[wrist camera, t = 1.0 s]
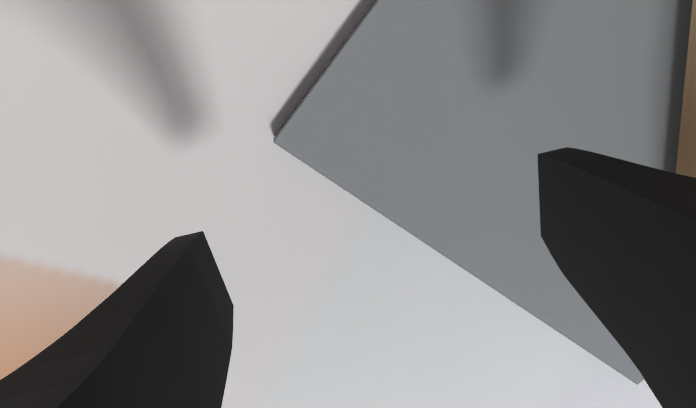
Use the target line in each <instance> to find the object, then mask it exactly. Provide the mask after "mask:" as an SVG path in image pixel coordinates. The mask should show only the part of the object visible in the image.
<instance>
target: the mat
mask: <svg viewBox="0 0 696 408" xmlns="http://www.w3.org/2000/svg"><path fill="white" fill-rule="evenodd" d="M692 3H693V0H376V1H375V2H374V4H373V5H372V6H371V8H370V9H369V11H368V12H367V13H366V15H365V16H364V17H363V19H362V20H361V21H360V23H359V24H358V25H357V27H356V28H355V29H354V31H353V32H352V33H351V35H350V36H349V38H348V39H347V40H346V42H345V43H344V44H343V46H342V47H341V48H340V50H339V51H338V52H337V54H336V55H335V56H334V58H333V59H332V60H331V62H330V63H329V65H328V66H327V67H326V69H325V70H324V71H323V73H322V74H321V75H320V77H319V78H318V79H317V81H316V82H315V83H314V85H313V86H312V87H311V89H310V90H309V92H308V93H307V94H306V96H305V97H304V98H303V100H302V101H301V102H300V104H299V105H298V106H297V108H296V109H295V110H294V112H293V113H292V114H291V116H290V117H289V119H288V120H287V121H286V123H285V124H284V125H283V127H282V128H281V129H280V131H279V132H278V133H277V135H276V136H275V137H274V143H275V144H277V145H278V146H280V147H281V148H283V149H284V150H286V151H287V152H289V153H290V154H292V155H293V156H295V157H296V158H298V159H299V160H301V161H302V162H304V163H305V164H307V165H308V166H310V167H311V168H313V169H314V170H316V171H317V172H319V173H320V174H322V175H323V176H325V177H326V178H328V179H329V180H331V181H332V182H334V183H335V184H337V185H338V186H340V187H341V188H343V189H344V190H346V191H347V192H349V193H350V194H352V195H353V196H355V197H356V198H358V199H359V200H361V201H362V202H364V203H365V204H367V205H368V206H370V207H371V208H373V209H374V210H376V211H377V212H379V213H380V214H382V215H383V216H385V217H386V218H388V219H389V220H391V221H392V222H394V223H395V224H397V225H398V226H400V227H401V228H403V229H405V230H406V231H408V232H409V233H411V234H412V235H414V236H415V237H417V238H418V239H420V240H421V241H423V242H424V243H426V244H427V245H429V246H430V247H432V248H433V249H435V250H436V251H438V252H439V253H441V254H442V255H444V256H445V257H447V258H448V259H450V260H451V261H453V262H454V263H456V264H457V265H459V266H460V267H462V268H463V269H465V270H466V271H468V272H469V273H471V274H472V275H474V276H475V277H477V278H478V279H480V280H481V281H483V282H484V283H486V284H487V285H489V286H490V287H492V288H493V289H495V290H496V291H498V292H499V293H501V294H502V295H504V296H505V297H507V298H508V299H510V300H511V301H513V302H514V303H516V304H517V305H519V306H520V307H522V308H523V309H525V310H526V311H528V312H529V313H531V314H532V315H534V316H535V317H537V318H538V319H540V320H541V321H543V322H544V323H546V324H547V325H549V326H550V327H552V328H553V329H555V330H556V331H558V332H559V333H561V334H562V335H564V336H565V337H567V338H568V339H570V340H571V341H573V342H574V343H576V344H577V345H579V346H580V347H582V348H583V349H585V350H586V351H588V352H589V353H591V354H592V355H594V356H595V357H597V358H598V359H600V360H601V361H603V362H604V363H606V364H607V365H609V366H610V367H612V368H613V369H615V370H616V371H618V372H619V373H621V374H622V375H624V376H625V377H627V378H628V379H630V380H631V381H633V382H634V383H636V384H638V383H640V382H641V381H642V380H644V378H643V376H642V375H641V373H640V371H639V370H638V369H637V367H636V366H635V365H634V363H633V362H632V360H631V359H630V358H629V356H628V355H627V354H626V352H625V351H624V350H623V348H622V347H621V346H620V345H619V344H618V342H617V341H616V340H615V339H614V337H613V336H612V335H611V334H610V332H609V331H608V330H607V329H606V327H605V326H604V325H603V324H602V322H601V321H600V320H599V319H598V317H597V316H596V315H595V314H594V312H593V311H592V310H591V309H590V308H589V306H588V305H587V304H586V303H585V301H584V300H583V299H582V298H581V296H580V295H579V294H578V292H577V291H576V290H575V289H574V287H573V286H572V285H571V284H570V282H569V281H568V280H567V278H566V277H565V276H564V275H563V273H562V272H561V270H560V269H559V267H558V265H557V264H556V262H555V260H554V259H553V257H552V255H551V253H550V252H549V250H548V248H547V246H546V244H545V243H544V241H543V239H542V237H541V229H540V204H539V179H538V154H540V153H544V152H548V151H553V150H557V149H561V148H566V147H568V148H576V149H581V150H586V151H590V152H594V153H598V154H602V155H606V156H610V157H614V158H618V159H621V160H625V161H629V162H633V163H636V164H640V165H644V166H648V167H652V168H656V169H660V170H664V171H668V172H672V173H676V164H677V154H678V144H679V134H680V124H681V114H682V104H683V94H684V83H685V73H686V63H687V53H688V43H689V33H690V23H691V13H692Z"/></svg>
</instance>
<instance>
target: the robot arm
mask: <svg viewBox="0 0 696 408" xmlns="http://www.w3.org/2000/svg"><path fill="white" fill-rule="evenodd" d="M538 179H539V204H540V229H541V237H542V239H543V241H544V243H545V244H546V246H547V248H548V250H549V252H550V253H551V255H552V257H553V259H554V260H555V262H556V264H557V265H558V267H559V269H560V270H561V272H562V273H563V275H564V276H565V277H566V278H567V280H568V281H569V282H570V284H571V285H572V286H573V287H574V289H575V290H576V291H577V292H578V294H579V295H580V296H581V298H582V299H583V300H584V301H585V303H586V304H587V305H588V306H589V308H590V309H591V310H592V311H593V312H594V314H595V315H596V316H597V317H598V319H599V320H600V321H601V322H602V324H603V325H604V326H605V327H606V329H607V330H608V331H609V332H610V334H611V335H612V336H613V337H614V339H615V340H616V341H617V342H618V344H619V345H620V346H621V347H622V348H623V350H624V351H625V352H626V354H627V355H628V356H629V358H630V359H631V360H632V362H633V363H634V365H635V366H636V367H637V369H638V370H639V371H640V373H641V375H642V376H643V378H644V379H645V381H646V382H647V384H648V385H649V387H650V389H651V390H652V392H653V393H654V395H655V396H656V398H657V400H658V401H659V403H660V404H661V406H662V407H663V408H696V178H694V177H689V176H685V175H680V174H676V173H672V172H668V171H664V170H660V169H656V168H652V167H648V166H644V165H640V164H636V163H633V162H629V161H625V160H621V159H618V158H614V157H610V156H606V155H602V154H598V153H594V152H590V151H586V150H581V149H576V148H568V147H566V148H561V149H557V150H553V151H548V152H544V153H540V154H538ZM232 337H233V304H232V301H231V299H230V296H229V294H228V291H227V289H226V287H225V284H224V282H223V279H222V277H221V274H220V272H219V269H218V267H217V265H216V262H215V260H214V257H213V255H212V252H211V250H210V247H209V245H208V243H207V240H206V238H205V235H204V233H203V231H201V232H197V233H193V234H188V235H184V236H180V237H175V238H174V239H172V240H171V241H170V242H168V243H167V244H166V245H165V246H163V247H162V248H161V249H160V250H159V251H158V252H157V253H155V254H154V255H153V256H152V257H151V258H150V259H149V260H148V261H147V262H146V263H145V264H144V265H142V266H141V267H140V268H139V269H138V270H137V271H136V272H135V273H134V274H133V275H132V276H131V277H130V278H129V279H127V280H126V281H125V282H124V283H123V284H122V285H121V286H120V287H119V288H118V289H117V290H116V291H115V292H114V293H112V294H111V295H110V296H109V297H108V298H107V299H105V300H104V301H103V302H102V303H101V304H100V305H99V306H97V307H96V308H95V309H94V310H93V311H92V312H90V313H89V314H88V315H87V316H86V317H85V318H83V319H82V320H81V321H80V322H79V323H78V324H77V325H76V326H74V327H73V328H72V329H70V330H69V331H68V332H67V333H65V334H64V335H63V336H62V337H60V338H59V339H58V340H57V341H55V342H54V343H53V344H51V345H50V346H49V347H47V348H46V349H45V350H43V351H42V352H40V353H39V354H38V355H36V356H35V357H34V358H32V359H31V360H29V361H28V362H27V363H25V364H24V365H22V366H21V367H20V368H18V369H17V370H15V371H14V372H12V373H11V374H9V375H8V376H6V377H4V378H3V379H1V380H0V408H221V405H222V400H223V395H224V389H225V384H226V378H227V373H228V367H229V361H230V356H231V350H232Z"/></svg>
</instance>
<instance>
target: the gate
mask: <svg viewBox="0 0 696 408" xmlns="http://www.w3.org/2000/svg"><path fill="white" fill-rule="evenodd" d="M676 174H680V175H685V176H689V177H694V178H696V0H693V3H692V13H691V23H690V33H689V43H688V53H687V63H686V73H685V83H684V94H683V104H682V114H681V124H680V134H679V144H678V154H677V164H676Z"/></svg>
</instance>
